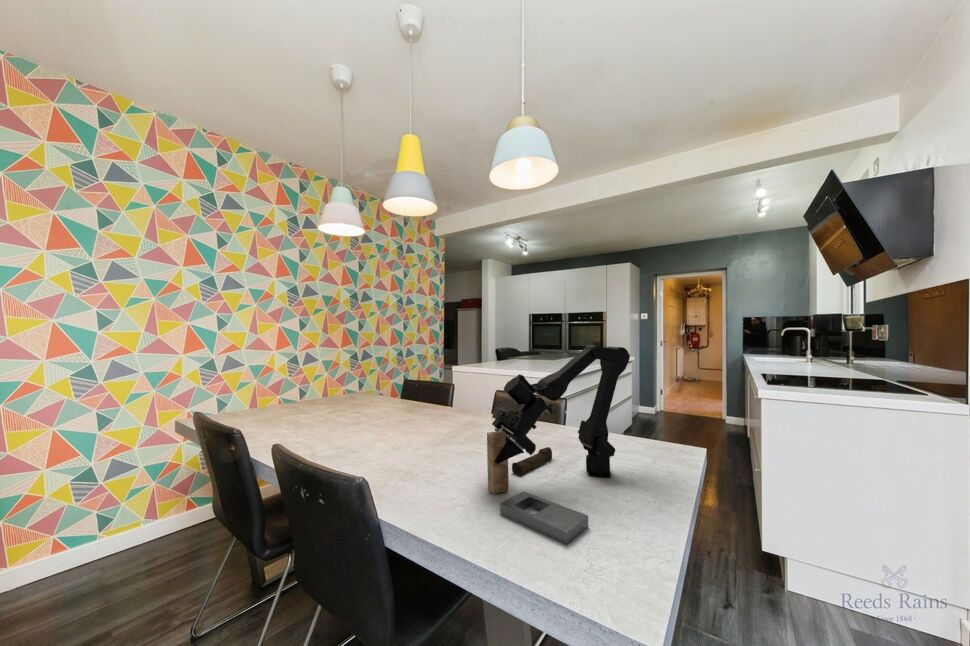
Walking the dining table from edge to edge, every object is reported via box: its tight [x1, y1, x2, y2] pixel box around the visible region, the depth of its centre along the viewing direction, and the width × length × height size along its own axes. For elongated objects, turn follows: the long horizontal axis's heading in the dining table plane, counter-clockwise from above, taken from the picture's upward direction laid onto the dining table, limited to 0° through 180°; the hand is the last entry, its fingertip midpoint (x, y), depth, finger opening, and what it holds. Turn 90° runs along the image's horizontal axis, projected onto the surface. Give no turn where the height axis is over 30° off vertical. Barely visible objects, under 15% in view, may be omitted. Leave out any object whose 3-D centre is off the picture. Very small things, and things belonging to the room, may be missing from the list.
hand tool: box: [511, 447, 553, 477], centre depth 113 cm, size 19×4×5 cm, turn 133°
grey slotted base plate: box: [499, 491, 589, 546], centre depth 81 cm, size 18×9×2 cm, turn 46°
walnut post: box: [486, 431, 510, 495], centre depth 97 cm, size 4×4×15 cm
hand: (492, 459), depth 97 cm, fingers closed on walnut post, 4 cm apart
